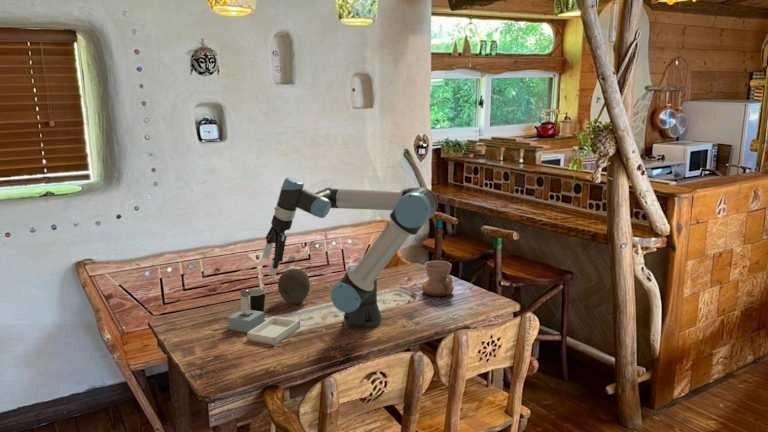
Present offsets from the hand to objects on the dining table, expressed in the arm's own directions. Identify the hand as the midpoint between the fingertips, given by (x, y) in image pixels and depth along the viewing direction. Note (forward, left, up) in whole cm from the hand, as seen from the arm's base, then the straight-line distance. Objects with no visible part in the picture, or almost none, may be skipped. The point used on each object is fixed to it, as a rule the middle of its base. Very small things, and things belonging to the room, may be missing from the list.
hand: (268, 266), depth 231 cm
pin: (+7, +6, -24) cm, 26 cm away
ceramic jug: (-51, -60, -24) cm, 82 cm away
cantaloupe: (+4, -25, -24) cm, 35 cm away
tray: (-7, +8, -24) cm, 26 cm away
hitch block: (+7, +6, -24) cm, 26 cm away
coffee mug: (+11, -7, -24) cm, 28 cm away
